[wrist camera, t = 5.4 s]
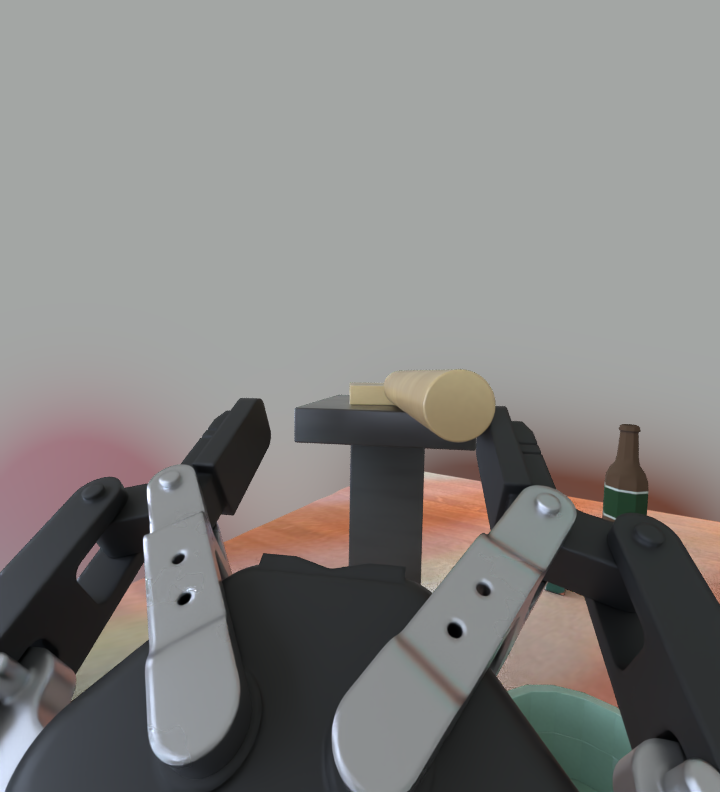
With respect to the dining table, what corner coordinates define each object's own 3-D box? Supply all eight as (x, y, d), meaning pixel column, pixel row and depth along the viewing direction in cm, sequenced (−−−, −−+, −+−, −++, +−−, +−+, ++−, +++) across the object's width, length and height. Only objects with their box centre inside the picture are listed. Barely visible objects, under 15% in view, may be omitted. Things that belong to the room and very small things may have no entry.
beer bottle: (637, 549, 71) (646, 429, 69) (593, 534, 77) (600, 423, 76) (651, 539, 75) (659, 426, 74) (608, 526, 82) (615, 421, 80)
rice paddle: (349, 396, 30) (349, 370, 29) (427, 398, 30) (428, 371, 30) (350, 441, 11) (351, 367, 11) (564, 444, 11) (569, 371, 11)
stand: (333, 729, 34) (337, 394, 32) (440, 746, 33) (452, 397, 31) (291, 917, 22) (294, 407, 20) (456, 958, 21) (477, 413, 19)
